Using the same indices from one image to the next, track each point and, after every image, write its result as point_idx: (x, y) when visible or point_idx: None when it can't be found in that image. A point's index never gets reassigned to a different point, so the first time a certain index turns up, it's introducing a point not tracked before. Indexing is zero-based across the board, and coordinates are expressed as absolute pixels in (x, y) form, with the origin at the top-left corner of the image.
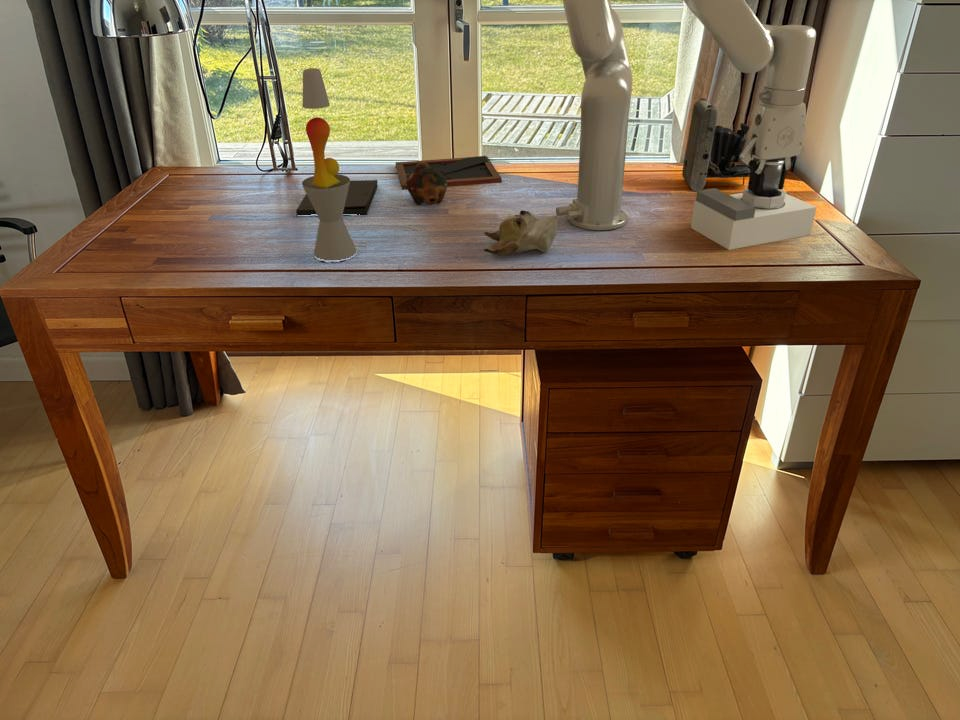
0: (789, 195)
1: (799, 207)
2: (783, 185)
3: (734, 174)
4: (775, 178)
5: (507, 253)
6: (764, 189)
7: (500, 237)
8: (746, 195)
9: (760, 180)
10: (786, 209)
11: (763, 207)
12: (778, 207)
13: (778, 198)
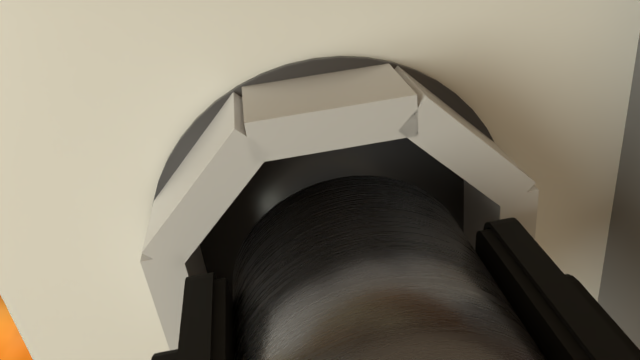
0: (25, 329)
1: (64, 43)
2: (186, 298)
3: None
4: (398, 307)
5: None
6: (457, 234)
7: None
8: None
9: (584, 301)
10: (226, 24)
11: (432, 94)
12: (289, 74)
13: (320, 108)
